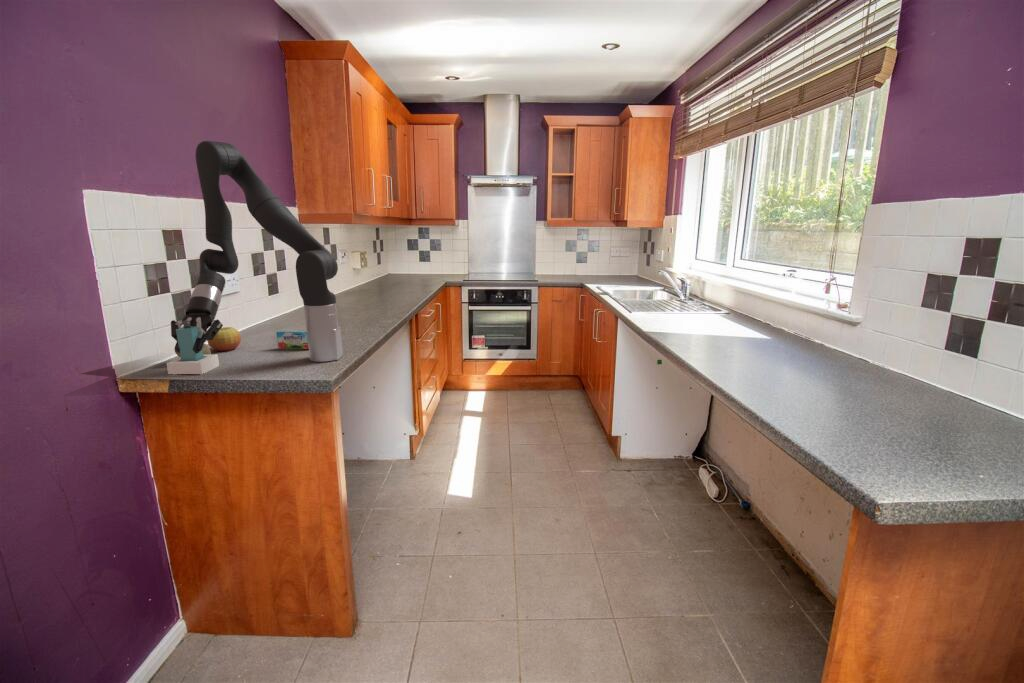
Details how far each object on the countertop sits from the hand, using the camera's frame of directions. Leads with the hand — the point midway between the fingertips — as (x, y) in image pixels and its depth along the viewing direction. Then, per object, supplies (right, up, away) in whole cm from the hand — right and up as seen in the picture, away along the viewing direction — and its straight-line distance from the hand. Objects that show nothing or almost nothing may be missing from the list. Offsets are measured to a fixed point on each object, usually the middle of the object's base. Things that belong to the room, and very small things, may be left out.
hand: (187, 351), depth 132 cm
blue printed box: (+18, 0, +28) cm, 33 cm away
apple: (-6, 0, +28) cm, 28 cm away
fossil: (-7, -4, +13) cm, 15 cm away
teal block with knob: (0, -4, +3) cm, 5 cm away
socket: (0, -5, +3) cm, 6 cm away
